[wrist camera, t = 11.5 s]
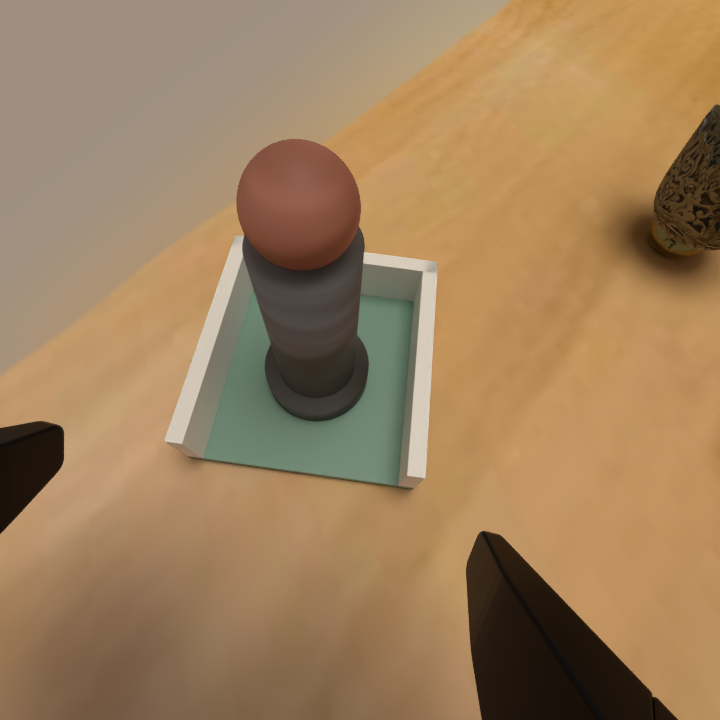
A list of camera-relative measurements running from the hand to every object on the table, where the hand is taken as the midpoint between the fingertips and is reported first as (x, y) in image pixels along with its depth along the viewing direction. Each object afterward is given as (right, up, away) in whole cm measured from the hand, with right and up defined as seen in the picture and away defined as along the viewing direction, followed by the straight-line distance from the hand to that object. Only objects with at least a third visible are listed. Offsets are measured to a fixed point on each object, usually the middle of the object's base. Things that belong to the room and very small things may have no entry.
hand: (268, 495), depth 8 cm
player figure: (0, +2, +14) cm, 14 cm away
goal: (0, +2, +15) cm, 15 cm away
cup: (+24, +11, +21) cm, 34 cm away
